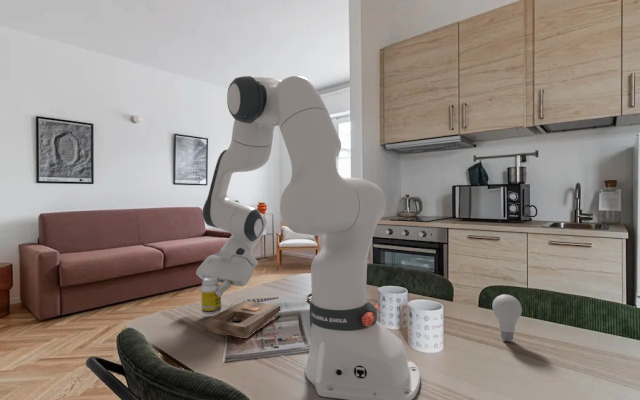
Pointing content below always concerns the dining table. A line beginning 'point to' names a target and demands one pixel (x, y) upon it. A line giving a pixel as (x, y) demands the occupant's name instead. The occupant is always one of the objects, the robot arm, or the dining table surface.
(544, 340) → the dining table surface
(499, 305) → the lightbulb
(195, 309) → the dining table surface
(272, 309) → the block
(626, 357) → the dining table surface
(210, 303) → the supplement bottle
